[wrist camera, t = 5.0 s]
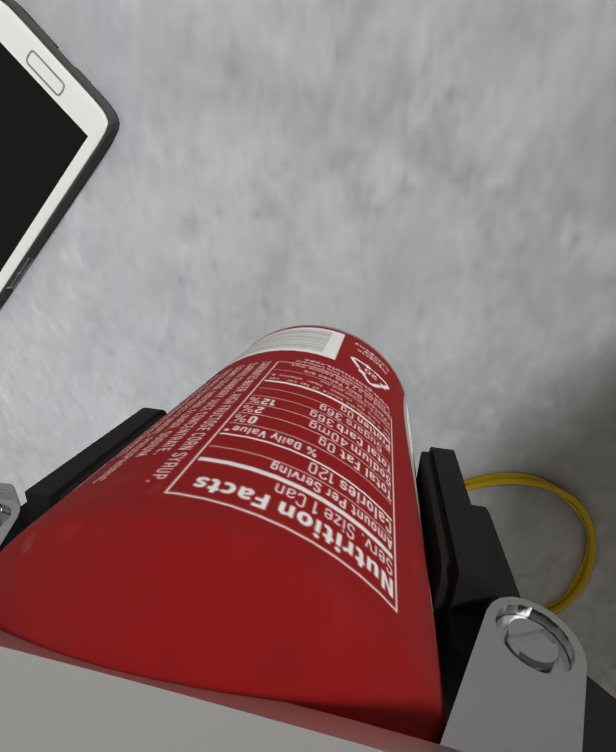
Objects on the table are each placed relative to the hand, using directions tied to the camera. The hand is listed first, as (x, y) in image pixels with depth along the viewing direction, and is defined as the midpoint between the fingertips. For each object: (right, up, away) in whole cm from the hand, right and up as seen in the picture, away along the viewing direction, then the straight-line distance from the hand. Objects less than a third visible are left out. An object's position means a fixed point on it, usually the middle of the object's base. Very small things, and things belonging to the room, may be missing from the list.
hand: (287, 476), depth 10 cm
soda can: (+1, +2, +4) cm, 5 cm away
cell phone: (-16, +14, +11) cm, 24 cm away
